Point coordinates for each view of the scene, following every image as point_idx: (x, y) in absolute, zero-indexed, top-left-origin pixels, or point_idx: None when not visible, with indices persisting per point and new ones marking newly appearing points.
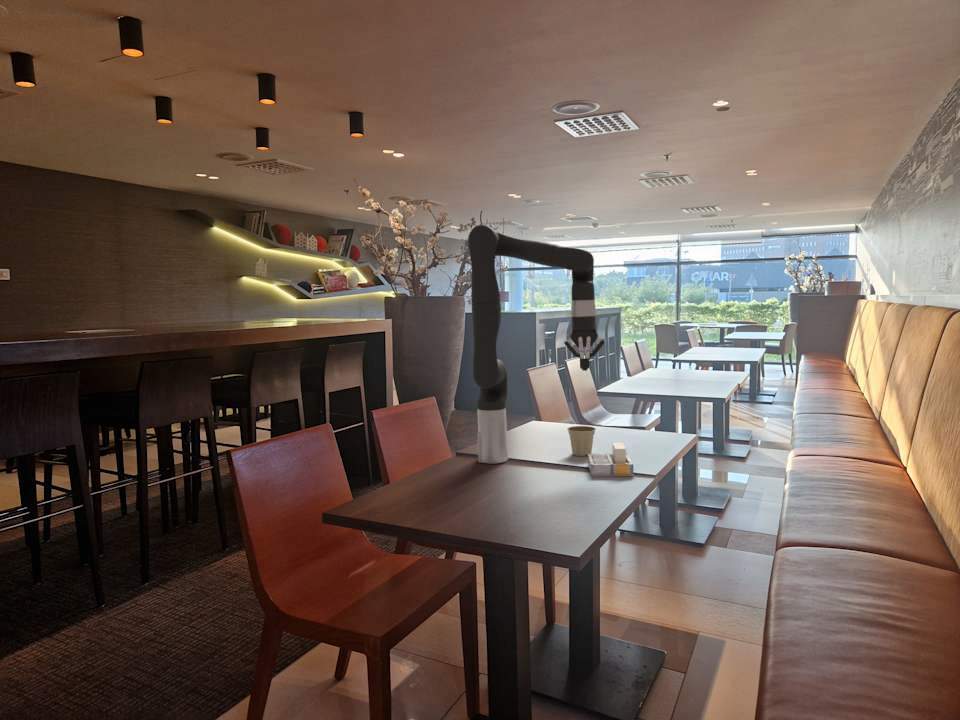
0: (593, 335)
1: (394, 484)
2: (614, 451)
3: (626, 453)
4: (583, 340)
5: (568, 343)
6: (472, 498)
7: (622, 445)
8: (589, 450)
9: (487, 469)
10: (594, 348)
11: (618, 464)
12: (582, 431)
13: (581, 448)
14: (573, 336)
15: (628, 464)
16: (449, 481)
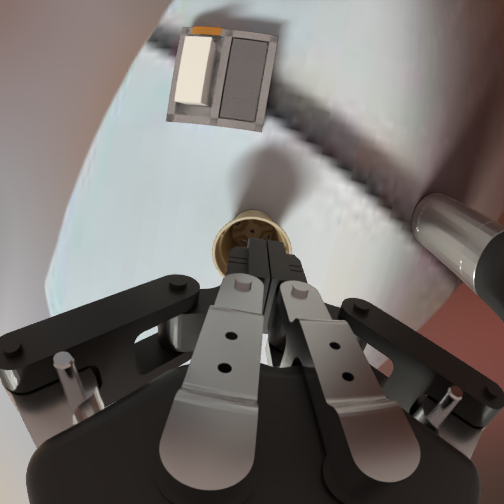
0: (91, 493)
1: None
2: (210, 58)
3: (168, 121)
4: (302, 445)
5: (474, 394)
6: (473, 17)
7: (183, 68)
8: (237, 216)
9: (453, 159)
10: (143, 373)
11: (215, 28)
12: None
13: (258, 213)
14: (461, 479)
15: (193, 27)
16: (501, 111)
